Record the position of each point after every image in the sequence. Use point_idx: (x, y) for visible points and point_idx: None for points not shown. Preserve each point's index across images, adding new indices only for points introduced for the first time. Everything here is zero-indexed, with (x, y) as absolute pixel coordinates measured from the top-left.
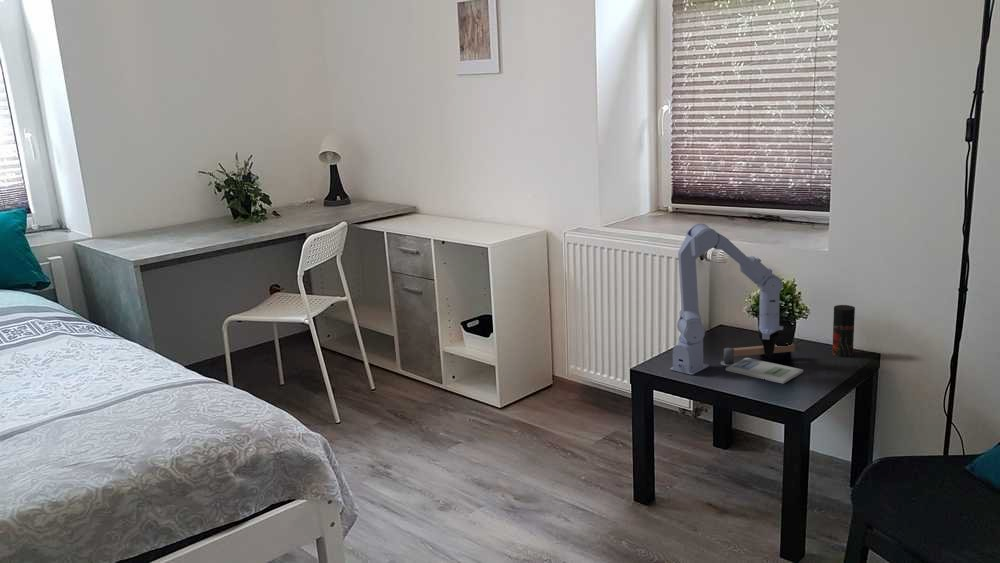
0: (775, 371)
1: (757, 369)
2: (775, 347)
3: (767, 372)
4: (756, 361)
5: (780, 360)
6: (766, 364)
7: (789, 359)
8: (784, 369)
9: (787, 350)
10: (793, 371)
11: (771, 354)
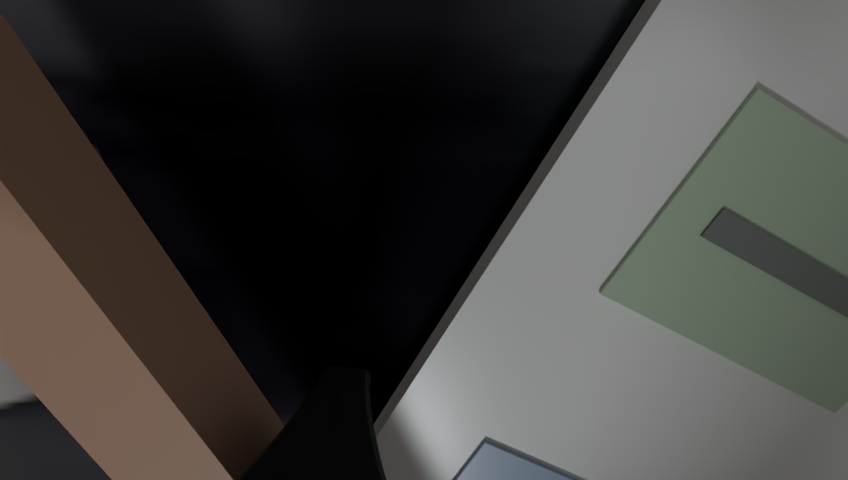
0: (812, 294)
1: (692, 459)
2: (176, 388)
3: (829, 376)
4: (420, 467)
5: (229, 211)
6: (512, 380)
7: (147, 93)
8: (734, 182)
9: (78, 159)
10: (819, 50)
11: (369, 392)
